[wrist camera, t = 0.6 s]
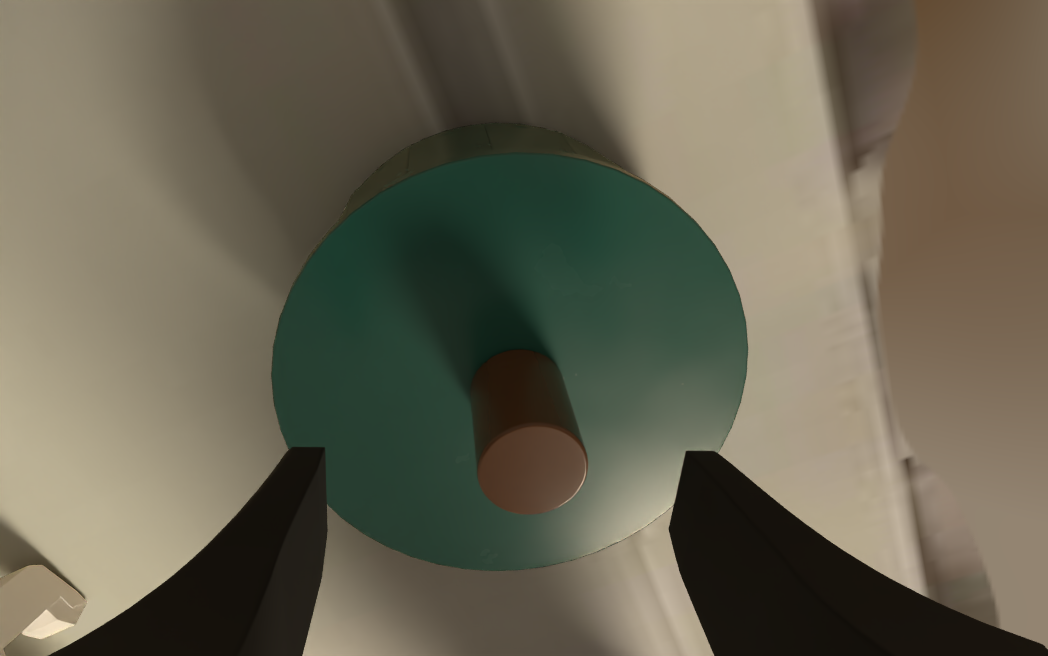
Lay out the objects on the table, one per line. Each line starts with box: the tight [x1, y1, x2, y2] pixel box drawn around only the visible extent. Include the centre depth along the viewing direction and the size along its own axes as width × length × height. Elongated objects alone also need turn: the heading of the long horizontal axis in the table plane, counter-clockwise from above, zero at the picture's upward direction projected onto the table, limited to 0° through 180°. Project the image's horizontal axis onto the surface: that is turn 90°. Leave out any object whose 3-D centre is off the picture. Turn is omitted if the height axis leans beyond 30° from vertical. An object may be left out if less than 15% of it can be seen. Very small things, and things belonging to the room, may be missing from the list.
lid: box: [271, 148, 748, 571], centre depth 18 cm, size 12×12×4 cm
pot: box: [338, 123, 624, 221], centre depth 22 cm, size 11×11×6 cm
